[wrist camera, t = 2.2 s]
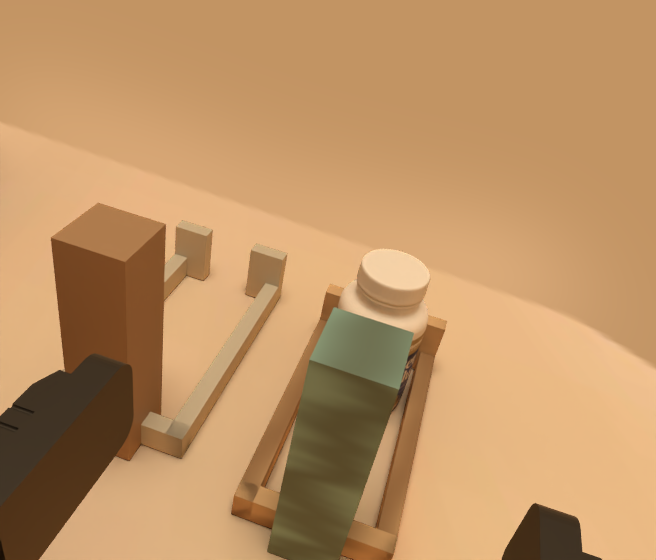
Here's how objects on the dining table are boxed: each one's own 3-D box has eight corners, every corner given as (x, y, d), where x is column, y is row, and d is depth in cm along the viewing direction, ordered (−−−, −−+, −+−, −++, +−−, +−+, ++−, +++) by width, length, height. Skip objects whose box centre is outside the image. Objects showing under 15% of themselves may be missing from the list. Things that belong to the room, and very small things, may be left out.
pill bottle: (393, 431, 37) (437, 309, 32) (309, 404, 38) (338, 279, 32) (405, 373, 42) (446, 256, 36) (330, 350, 42) (359, 231, 37)
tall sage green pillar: (221, 534, 30) (247, 339, 22) (320, 327, 44) (357, 164, 36) (380, 594, 29) (464, 411, 21) (430, 364, 43) (491, 203, 35)
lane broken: (32, 424, 33) (0, 221, 26) (180, 264, 47) (187, 101, 39) (170, 476, 32) (179, 279, 25) (280, 296, 46) (307, 136, 38)
